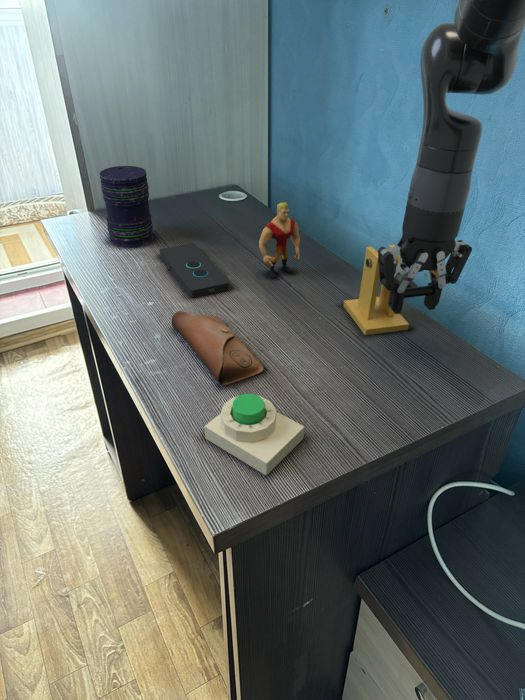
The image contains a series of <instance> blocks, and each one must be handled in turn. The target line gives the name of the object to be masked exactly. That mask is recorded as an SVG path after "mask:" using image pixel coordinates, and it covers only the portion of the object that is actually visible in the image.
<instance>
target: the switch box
mask: <svg viewBox="0 0 525 700" xmlns="http://www.w3.org/2000/svg"><path fill="white" fill-rule="evenodd" d="M238 396H239V395H237V396H233V397H232V398H230V399H228V401H226V402H225V403H223V404H222V407H221V411H220V413H219V414H218V415H217V416H215V417H214V418H213V419H211V420H210V421H208V422H207V424H205V425H204V438H205V440H207V441H209V442H210V443H212V444H213V445H215V446H217V447H219V448H220V449H222V450H223V451H225V452H227V453H228V454H230V455H232V456H233V457H235V458H237V459H238V460H240V461H241V462H243V463H245V465H248V466H250V467H251V468H253V469H255V470H256V471H258V472H259V473H261V474H262V475H264V476H268V475H270V473H271V472H272V471H273V470H274V469H275V468H276V467H277V466H278V465H279V464H280V463H281V462H282V461H283V460H284V459H285V458H286V457H287V456H288V455H289V454H290V453H291V452H292V451H293V450H294V449H295V448H296V447H297V446H298V445H299V444H300V443H301V442H302V441H303V440H304V438H305V437H304V436H305V426H304V425H302V424H301V423H298V422H297V421H295V420H293V419H291V418H289V417H287V416H286V415H284V414H282V413H280V412H278V411H277V408H276V407H275V405H274V404H273V403H272V401H270V400H268V399H267V398H264V397H262V396H261V395H258V396H259V397H261V398H262V399H263V401H264V403H265V412H264V418H263V419H262V420H261V421H260V422H259V423H257V424H253V425H244V424H241V423H239V422H237V421H236V420H235V419H234V417H233V401H234V400H235V399H236V398H237V397H238Z"/></svg>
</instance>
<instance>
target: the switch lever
mask: <svg viewBox="0 0 525 700" xmlns="http://www.w3.org/2000/svg"><path fill="white" fill-rule="evenodd" d="M395 272H396V266H395V265H394V274H395ZM404 292H405V296H404V299H409V298H415V297H417V298H418V297H425V296H426V295H432V294H433V293H434V288H433V286H432V285H429V286H428V285H421V286H419V285H417V283H415V282H414V280H412V281H410V282H409V284H408V286H407V287H406V289H405V291H404Z"/></svg>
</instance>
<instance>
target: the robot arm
mask: <svg viewBox="0 0 525 700" xmlns="http://www.w3.org/2000/svg"><path fill="white" fill-rule="evenodd" d="M453 19H454V21H453V22H446V23H445V22H444V23H441V24H438V25H436V26H435V27H434V28H433V29H432V30H431V31H430V32H429V34H428V35H427V37H426V38H425V41H424V43H423V45H422V48H421V53H420V76H421V87H422V98H423V119H422V131H421V136H420V142H419V147H418V153H417V158H416V163H415V168H414V170H413V174H412V176H411V179H410V184H409V188H408V189H409V190H408V194H407V200H406V206H405V211H404V216H403V221H402V227H401V229H402V230H401V232H402V233H401V234H402V235H401V238H400V240H399V241H398V243H397V245H395V247H392V248H389V249H388V248H386V247H385V246H380V247H379V248H378V250H377V252H378V260H379V276H380V280H379V283H380V284H381V285H382V284H383V285H384V286H385V287H386V289H387V290H389V291H390V296H389V301H388V305H389V307H390V308H391V310H392V311H393V312H394V313H395V314H399V313H400V314H401V313H402V310H403V305H404V301H405V298H404V296H405V292H404V291H405V289H406V287H407V286H408V284H409V282H410V281H414V279H415V278H416V276H417V274H418V273H421V272H424V271H428V272H429V280H430V282H427V286H429V285H432V286H433V288H434V293H433V294H432V295H426V296H424V300H423V305H424V306H425V308H427V309H428V310H429V311H432V310H435V309H436V306H437V307H438V305H439V303H440V300H441V295H442V292H443V289H444V288H445V287H446V285H449V284H452V285H453V284H456V283H457V282H458V281H459V278H460V276H461V274H462V272H463V270H464V267H465V266H466V264H467V261H468V260H469V257H470V256H471V254H472V252H473V247H472V246H471V245H469V243H467V242H465V241H464V240H462V239H458V240H457V241H456V238H457V237H458V236H459V232H460V229H461V225H462V220H463V217H464V213H465V209H466V205H467V201H468V197H469V194H470V189H471V185H472V184H471V183H472V175H473V170H474V165H475V161H476V157H477V154H478V150H479V146H480V142H481V138H482V134H483V123H482V122H481V121H480V120H479V119H478V118H476V117H474V116H473V115H469V114H466V113H462V112H459V111H456V110H454V109H452V108H450V107H449V106H448V105H447V100H446V99H447V94H461V95H481V96H484V95H491V94H495V93H497V92H499V91H501V90H502V89H504V88H505V87H506V86H507V85H508V84H509V83H510V81H511V80H512V78H513V76H514V74H515V71H516V67H517V63H518V57H519V52H520V51H519V50H520V43H521V39H522V37H523V33H524V30H525V0H458V2H457V4H456V8H455V12H454V18H453ZM398 255H400V256H401V259H400V261H399V263H398V265H397V266H396V272H395V274H394V264H396V262H397V261H396V260H397V257H398ZM447 258H448V259H447ZM446 259H447V261H446Z"/></svg>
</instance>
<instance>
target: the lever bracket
mask: <svg viewBox="0 0 525 700" xmlns="http://www.w3.org/2000/svg"><path fill="white" fill-rule="evenodd" d="M395 246H396V245H395V244H389V245H388V247H387V249H389V248H392V247H395ZM400 259H401V256H400V255H398V257H397V260H396V261H397V262H396V264H394V265H395V266H397V265H398V263H399V261H400ZM379 285H380V276H379V260H378V250H376V249H375V248H374V247H373V246H366V249H365V256H364V262H363V268H362V276H361V283H360V289H359V297H358V298H355V299H347V300H346V299H345V300H343V308H344V310H346V312H347V313H348V314H349V315H350V317H351V318H352V320H353V321H354V322H355V324H356V325H357V326H358V328H359V329H360V330H361V332H362V333H363V334H364V336H370V335H379V334H385V333H386V334H387V333H393V332H394V333H395V332H402V331H409V326H410V323H409V322H408V321H407V320H406V319H405V318H404V317H403V315H402V314H401V313H399V314H395V313H394V312H393V311H392V310H391V308H390V307H389V305H388V301H389V296H390V291H389V290H387V289H386V287H385V286H384V285H383V284H382V283H381V287H380V292H379ZM378 292H379V296H378Z"/></svg>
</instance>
